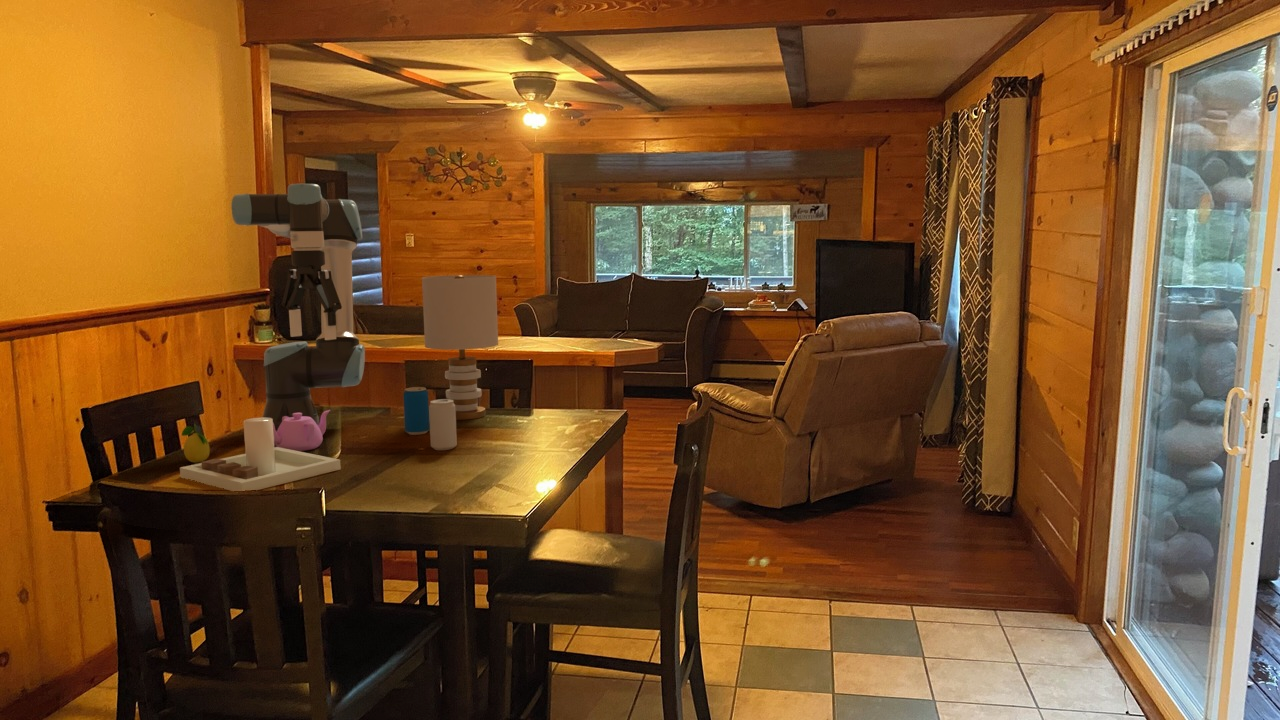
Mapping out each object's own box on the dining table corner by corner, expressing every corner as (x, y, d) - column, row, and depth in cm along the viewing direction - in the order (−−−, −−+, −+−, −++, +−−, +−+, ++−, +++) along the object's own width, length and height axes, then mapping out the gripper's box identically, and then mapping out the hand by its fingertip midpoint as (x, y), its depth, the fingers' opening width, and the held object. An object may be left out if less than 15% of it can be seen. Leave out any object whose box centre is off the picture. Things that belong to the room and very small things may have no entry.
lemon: (183, 463, 228) (180, 421, 226) (210, 460, 230) (207, 419, 229) (182, 469, 222) (179, 427, 220) (210, 466, 224) (207, 424, 223)
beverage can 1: (433, 430, 262) (431, 386, 260) (425, 435, 255) (423, 390, 254) (409, 430, 263) (407, 386, 261) (401, 435, 256) (399, 390, 255)
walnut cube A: (202, 477, 211) (201, 462, 210) (215, 474, 214) (214, 458, 213) (213, 479, 209) (212, 463, 209) (227, 475, 212) (225, 460, 212)
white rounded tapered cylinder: (241, 474, 213) (237, 420, 212) (265, 468, 218) (262, 416, 217) (257, 477, 210) (253, 423, 208) (281, 472, 215) (278, 419, 213)
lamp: (431, 410, 292) (426, 274, 286) (501, 407, 294) (497, 273, 288) (424, 423, 271) (417, 277, 265) (499, 421, 273) (494, 276, 268)
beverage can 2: (461, 446, 242) (459, 399, 240) (448, 451, 236) (446, 403, 234) (439, 444, 244) (437, 397, 243) (425, 450, 238) (423, 402, 237)
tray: (180, 480, 211) (179, 467, 211) (277, 459, 231) (277, 446, 230) (243, 497, 197) (242, 483, 197) (340, 472, 217) (340, 459, 216)
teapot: (265, 453, 237) (262, 418, 236) (287, 441, 251) (285, 408, 250) (312, 453, 237) (310, 417, 235) (332, 441, 250) (330, 407, 249)
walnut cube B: (218, 480, 208) (217, 465, 207) (234, 477, 210) (233, 462, 210) (226, 483, 205) (225, 467, 205) (242, 480, 208) (240, 464, 208)
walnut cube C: (233, 486, 203) (232, 469, 203) (244, 481, 207) (243, 466, 206) (247, 487, 202) (246, 470, 202) (258, 482, 206) (257, 466, 205)
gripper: (263, 249, 234) (269, 336, 237) (326, 250, 220) (332, 342, 223) (290, 248, 240) (295, 333, 243) (353, 249, 226) (358, 339, 229)
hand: (313, 338), depth 233 cm, fingers open, 13 cm apart
